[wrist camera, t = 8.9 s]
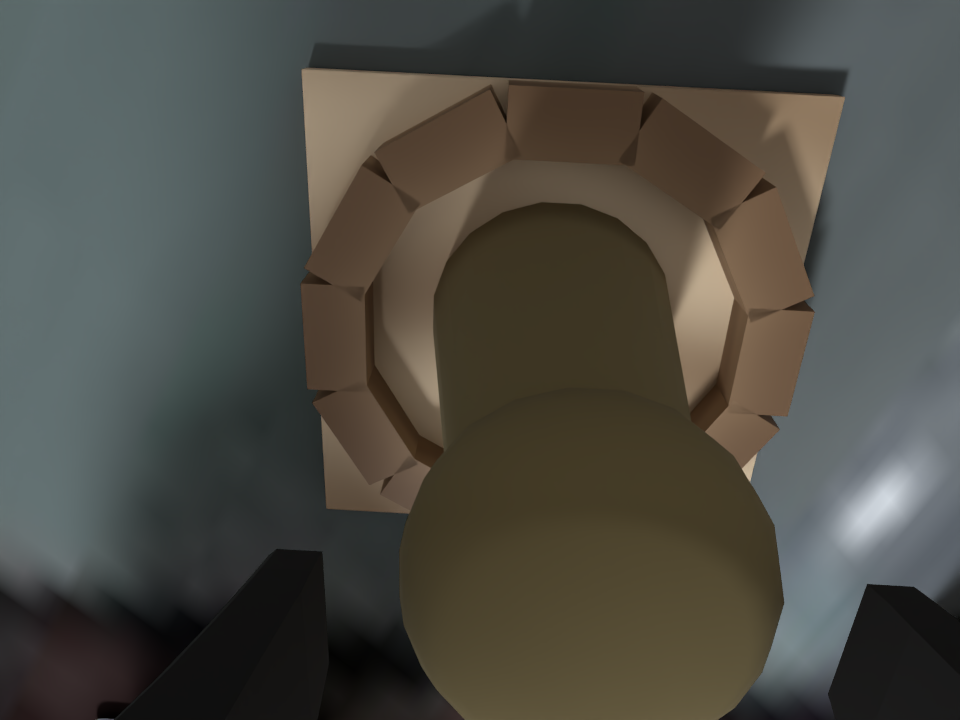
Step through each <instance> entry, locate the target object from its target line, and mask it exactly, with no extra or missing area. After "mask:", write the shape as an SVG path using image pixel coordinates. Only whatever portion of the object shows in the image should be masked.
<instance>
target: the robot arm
mask: <svg viewBox="0 0 960 720" xmlns="http://www.w3.org/2000/svg"><path fill="white" fill-rule="evenodd" d="M328 666H329V654H328V638H327V621H326V605H325V588H324V572H323V556H322V552H317V551H300V550H284V549H276V550H275V551H274V552H273V553H271V554H270V555H269V556H268V557H267V558H266V560H265V561H264V562H263V563H262V564H261V565H260V566H259V568H258V569H257V570H256V571H255V572H254V573H253V575H252V576H251V577H250V578H249V579H248V580H247V581H246V583H245V584H244V585H243V586H242V587H241V588H240V589H239V591H238V592H237V593H236V594H235V595H234V596H233V597H232V599H231V600H230V601H229V602H228V603H227V604H226V605H225V606H224V607H223V609H222V610H221V611H220V612H219V613H218V614H217V615H216V616H215V617H214V618H213V620H212V621H211V622H210V623H209V624H208V625H207V626H206V627H205V628H204V629H203V630H202V631H201V633H200V634H199V635H198V636H197V637H196V638H195V639H194V640H193V641H192V642H191V643H190V644H189V645H188V646H187V647H186V648H185V649H184V650H183V651H182V652H181V654H180V655H179V656H178V657H177V658H176V659H175V660H174V661H173V662H172V663H171V664H170V665H169V666H168V667H167V668H166V669H165V670H164V671H163V672H162V673H161V674H160V675H159V676H158V677H157V678H156V679H155V680H154V681H153V682H152V683H151V684H150V685H149V686H148V687H147V688H146V689H145V690H144V691H143V692H142V693H141V694H140V695H139V696H138V697H137V698H136V699H135V700H134V701H133V702H132V703H131V704H130V705H129V706H127V707H126V708H125V709H124V710H123V711H122V712H121V713H120V714H119V715H118V716H117V717H116V718H115V719H108V718H101V719H97V720H318V715H319V711H320V706H321V701H322V696H323V691H324V686H325V681H326V676H327V671H328ZM828 696H829V699H830V702H831V706H832V709H833V712H834V716H835V719H836V720H960V622H959V621H958V620H957V619H955V618H954V617H953V616H952V615H950V614H949V613H948V612H946V611H945V610H944V609H943V608H941V607H940V606H939V605H938V604H936V603H935V602H934V601H932V600H931V599H930V598H928V597H927V596H926V595H924V594H923V593H922V592H920V591H919V590H918V589H916V588H915V587H906V586H890V585H873V584H867V586H866V589H865V592H864V595H863V597H862V600H861V603H860V606H859V609H858V611H857V614H856V617H855V620H854V623H853V626H852V628H851V631H850V634H849V637H848V640H847V642H846V645H845V648H844V651H843V654H842V656H841V659H840V662H839V665H838V668H837V670H836V673H835V676H834V679H833V682H832V684H831V687H830V690H829V693H828Z"/></svg>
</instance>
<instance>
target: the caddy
mask: <svg viewBox="0 0 960 720" xmlns="http://www.w3.org/2000/svg"><path fill="white" fill-rule="evenodd" d="M302 84H303V102H304V120H305V138H306V155H307V173H308V191H309V209H310V227H311V244H312V254H311V256H310V258H309V260H308V262H307V263H306V265H305V267H304V268H305V269H306V270H308V271H310V272H309V273H308V274H307V276H306V277H305V278H304V280H303V281H302V282H301V300H302V315H303V331H304V346H305V362H306V377H307V389H313V390H318V392H317V394H316V396H315V398H314V400H313V402H312V403H313V405H314V406H315V408H316V409H317V411H318V412H319V413H320V415H321V423H322V440H323V458H324V476H325V494H326V509H339V510H356V511H373V512H390V513H407V514H409V513H410V511H411V508H412V506H413V503H414V501H415V499H416V496H417V494H418V491H419V489H420V486H421V484H422V482H423V479H424V478H425V476H426V475H427V473H428V472H429V470H430V469H431V468H432V466H433V465H434V463H435V462H436V460H437V459H438V458H439V457H440V456H441V455H442V454H443V453H444V447H443V436H442V425H441V414H440V403H439V392H438V380H437V369H436V358H435V347H434V336H433V304H434V294H435V291H436V288H437V286H438V283H439V280H440V277H441V275H442V272H443V269H444V267H445V264H446V262H447V261H448V259H449V258H450V257H451V256H452V254H453V253H454V252H455V251H456V250H457V248H458V247H459V246H460V245H461V243H462V242H463V241H464V240H465V239H466V237H467V236H468V235H469V234H470V233H471V232H473V231H474V230H476V229H477V228H479V227H480V226H482V225H484V224H485V223H487V222H488V221H490V220H491V219H493V218H495V217H496V216H498V215H499V214H501V213H502V212H506V211H509V210H513V209H517V208H521V207H525V206H528V205H532V204H536V203H540V202H549V203H568V204H582V205H585V206H587V207H590V208H592V209H595V210H598V211H600V212H603V213H605V214H608V215H610V216H613V217H616V218H618V219H619V220H620V221H622V222H623V223H624V224H625V225H626V226H627V227H629V228H630V229H631V230H632V231H633V232H635V233H636V234H637V235H638V236H639V237H641V238H642V239H643V240H644V241H645V242H646V243H647V244H648V246H649V248H650V249H651V251H652V253H653V254H654V256H655V258H656V260H657V261H658V263H659V265H660V267H661V268H662V270H663V272H664V273H665V278H666V283H667V289H668V294H669V300H670V305H671V311H672V316H673V322H674V327H675V333H676V338H677V344H678V350H679V355H680V361H681V366H682V372H683V377H684V383H685V388H686V394H687V399H688V405H689V411H690V416H691V422H693V423H694V424H695V425H697V426H698V427H699V428H700V429H702V430H703V431H704V432H706V433H707V434H708V435H709V436H711V437H712V438H713V439H715V440H716V441H717V442H718V443H719V444H720V445H722V446H723V447H724V448H725V449H726V450H728V451H729V452H730V453H731V454H732V455H734V457H735V458H736V460H737V462H738V463H739V465H740V467H741V468H742V470H743V472H744V473H745V475H746V477H747V478H748V480H749V482H750V480H751V476H752V472H753V468H754V464H755V460H756V456H757V452H758V451H759V450H760V449H761V448H762V447H763V446H764V445H765V444H766V443H767V442H768V441H769V440H770V439H771V438H772V437H773V436H774V435H775V434H776V433H777V432H778V431H779V430H780V429H779V428H778V426H777V424H776V423H775V421H774V420H773V418H772V417H771V415H772V416H788V412H789V408H790V405H791V401H792V397H793V393H794V389H795V385H796V382H797V378H798V374H799V370H800V366H801V362H802V359H803V355H804V351H805V347H806V343H807V340H808V336H809V332H810V328H811V324H812V320H813V317H814V313H815V312H814V311H813V310H812V309H811V308H810V307H809V306H808V305H807V304H806V303H805V302H804V300H806V299H808V298H811V297H813V296H814V294H813V291H812V288H811V285H810V282H809V279H808V276H807V273H806V271H805V268H804V261H805V257H806V253H807V249H808V245H809V241H810V237H811V233H812V229H813V225H814V221H815V217H816V213H817V209H818V205H819V200H820V196H821V192H822V188H823V184H824V180H825V176H826V172H827V168H828V164H829V160H830V156H831V152H832V148H833V144H834V140H835V136H836V132H837V128H838V124H839V120H840V115H841V111H842V107H843V103H844V99H845V97H842V96H839V95H830V94H811V93H791V92H772V91H752V90H733V89H713V88H694V87H675V86H655V85H636V84H616V83H597V82H577V81H558V80H538V79H519V78H499V77H480V76H460V75H441V74H421V73H402V72H382V71H363V70H343V69H324V68H304V69H302Z"/></svg>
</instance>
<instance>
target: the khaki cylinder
mask: <svg viewBox="0 0 960 720" xmlns="http://www.w3.org/2000/svg"><path fill="white" fill-rule="evenodd" d="M433 336H434V347H435V358H436V369H437V380H438V392H439V403H440V414H441V425H442V436H443V447H444V453H443V454H442V455H441V456H440V457H439V458H438V459H437V460H436V462H435V463H434V465H433V466H432V468H431V469H430V470H429V472H428V473H427V475H426V476H425V478H424V479H423V482H422V484H421V486H420V489H419V491H418V494H417V496H416V499H415V501H414V503H413V506H412V508H411V511H410V513H409V516H408V518H407V520H406V523H405V527H404V532H403V536H402V540H401V545H400V549H399V596H400V603H401V610H402V617H403V624H404V627H405V629H406V632H407V634H408V636H409V639H410V641H411V643H412V646H413V648H414V651H415V653H416V655H417V658H418V660H419V662H420V665H421V667H422V668H423V670H424V671H425V673H426V674H427V676H428V677H429V679H430V680H431V682H432V683H433V685H434V686H435V688H436V689H437V690H438V692H439V693H440V694H441V695H442V696H443V697H444V698H445V699H446V700H447V701H448V702H449V703H450V704H451V705H452V706H453V707H454V709H455V710H456V711H457V712H458V713H459V714H460V715H461V716H462V717H463V718H464V719H465V720H718V719H719V718H721V717H722V716H724V715H725V714H726V713H728V712H729V711H731V710H732V709H734V708H735V707H736V706H737V704H738V703H739V702H740V700H741V699H742V698H743V697H744V695H745V694H746V693H747V691H748V690H749V689H750V687H751V686H752V685H753V684H754V682H755V681H756V680H757V678H758V677H759V676H760V674H761V673H762V671H763V668H764V666H765V663H766V660H767V657H768V654H769V652H770V649H771V646H772V643H773V639H774V636H775V632H776V629H777V626H778V622H779V619H780V615H781V612H782V609H783V605H784V597H783V589H782V581H781V572H780V565H779V557H778V550H777V542H776V534H775V527H774V524H773V522H772V520H771V518H770V516H769V515H768V513H767V511H766V509H765V507H764V505H763V504H762V502H761V500H760V498H759V496H758V495H757V493H756V491H755V490H754V488H753V487H752V485H751V483H750V482H749V480H748V478H747V477H746V475H745V473H744V472H743V470H742V468H741V467H740V465H739V463H738V462H737V460H736V458H735V457H734V455H732V454H731V453H730V452H729V451H728V450H726V449H725V448H724V447H723V446H722V445H720V444H719V443H718V442H717V441H716V440H715V439H713V438H712V437H711V436H709V435H708V434H707V433H706V432H704V431H703V430H702V429H700V428H699V427H698V426H697V425H695V424H694V423H693V422H691V416H690V411H689V405H688V399H687V394H686V388H685V383H684V377H683V372H682V366H681V361H680V355H679V350H678V344H677V338H676V333H675V327H674V322H673V316H672V311H671V305H670V300H669V294H668V289H667V283H666V278H665V273H664V272H663V270H662V268H661V267H660V265H659V263H658V261H657V260H656V258H655V256H654V254H653V253H652V251H651V249H650V248H649V246H648V244H647V243H646V242H645V241H644V240H643V239H642V238H641V237H639V236H638V235H637V234H636V233H635V232H633V231H632V230H631V229H630V228H629V227H627V226H626V225H625V224H624V223H623V222H622V221H620V220H619V219H618V218H616V217H613V216H610V215H608V214H605V213H603V212H600V211H598V210H595V209H592V208H590V207H587V206H585V205H582V204H568V203H549V202H540V203H536V204H532V205H528V206H525V207H521V208H517V209H513V210H509V211H506V212H502V213H501V214H499V215H498V216H496V217H495V218H493V219H491V220H490V221H488V222H487V223H485V224H484V225H482V226H480V227H479V228H477V229H476V230H474V231H473V232H471V233H470V234H469V235H468V236H467V237H466V239H465V240H464V241H463V242H462V243H461V245H460V246H459V247H458V248H457V250H456V251H455V252H454V253H453V254H452V256H451V257H450V258H449V259H448V261H447V262H446V264H445V267H444V269H443V272H442V275H441V277H440V280H439V283H438V286H437V288H436V291H435V294H434V304H433Z"/></svg>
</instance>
